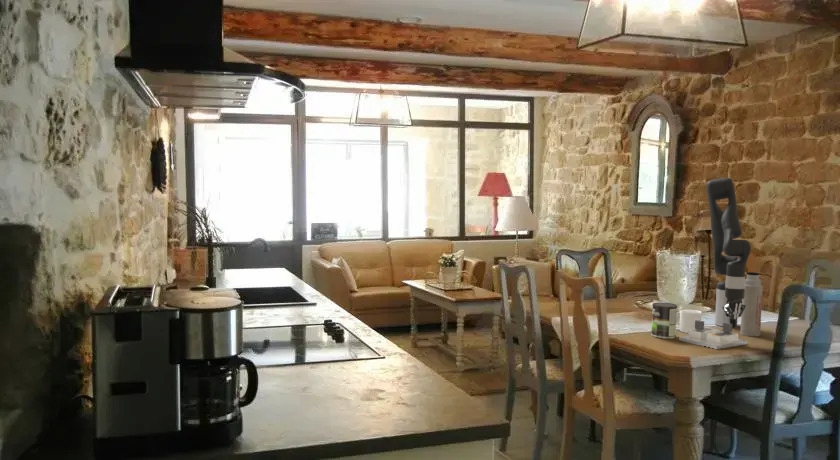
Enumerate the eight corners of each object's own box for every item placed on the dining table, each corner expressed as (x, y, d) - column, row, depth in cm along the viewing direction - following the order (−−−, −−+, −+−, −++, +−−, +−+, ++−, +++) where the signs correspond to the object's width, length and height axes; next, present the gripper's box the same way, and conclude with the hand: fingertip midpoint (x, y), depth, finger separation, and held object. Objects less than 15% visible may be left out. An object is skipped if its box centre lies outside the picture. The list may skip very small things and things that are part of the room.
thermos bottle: (764, 335, 298) (767, 273, 296) (752, 337, 294) (755, 274, 293) (748, 331, 305) (750, 271, 303) (736, 333, 301) (739, 271, 300)
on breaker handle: (697, 328, 287) (698, 320, 287) (703, 329, 285) (704, 321, 284) (694, 328, 286) (695, 320, 286) (700, 330, 284) (701, 321, 283)
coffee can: (657, 338, 289) (658, 306, 288) (647, 333, 299) (648, 302, 298) (680, 338, 290) (681, 306, 289) (669, 333, 300) (670, 302, 299)
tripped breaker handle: (725, 331, 283) (725, 322, 282) (732, 332, 280) (732, 323, 280) (722, 331, 282) (722, 323, 281) (728, 332, 279) (729, 324, 279)
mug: (703, 331, 304) (704, 311, 304) (695, 334, 298) (696, 314, 297) (678, 327, 313) (678, 307, 312) (669, 330, 306) (670, 310, 306)
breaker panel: (709, 335, 296) (709, 325, 296) (746, 344, 281) (747, 333, 280) (679, 340, 286) (679, 329, 286) (716, 349, 271) (716, 338, 270)
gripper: (736, 284, 288) (734, 324, 289) (717, 286, 281) (715, 327, 282) (752, 287, 281) (751, 327, 283) (733, 289, 275) (731, 330, 276)
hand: (733, 327), depth 282 cm, fingers closed
